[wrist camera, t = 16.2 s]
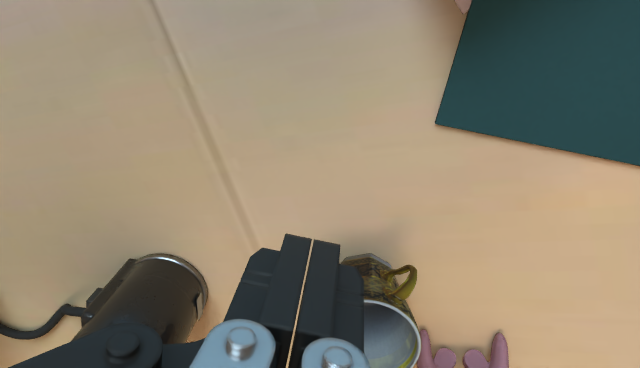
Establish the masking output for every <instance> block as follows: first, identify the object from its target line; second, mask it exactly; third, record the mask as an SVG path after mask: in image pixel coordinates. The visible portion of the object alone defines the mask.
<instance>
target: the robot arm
mask: <svg viewBox="0 0 640 368" xmlns="http://www.w3.org/2000/svg"><path fill="white" fill-rule="evenodd" d="M311 241H312V239H310V238H305V237H300V236H295V235H290V234H285V237H284V240H283V244H282V247H281V250H280V251H276V250H271V249H266V248H261V249H260V250H259V251H257V252H256V253H255V254H253V255H252V256H251V257H250V259H249V261H248V264H247V266H246V268H245V272H244V273H243V276H242V278H241V281H240V283H239V285H238V288H237V290H236V292H235V295H234V297H233V300H232V302H231V304H230V307H229V309H228V312H227V314H226V316H225V319H224V321H223V322H222V323H220V324H218V325H217V326H215V327H214V328H213V329H212V330H211V331H210V332H209V334H208V335H207V337H206V338H204V339H202V340H199V341H195V342H190V343H186V341H187V339H188V337H189V335H190V333H191V331H192V329H193V326H194V324H195V322H196V321H197V319H198V321H199V319H200V317H201V315H202V314H203V309H204V306H205V304H206V301H207V287H206V284H205V282H204V279H203V278H202V276H201V275H200V273H199V272H198V271H197V270H196V269H195V268H194V267H193V266H192V265H190V264H189V263H188V262H186V261H184V260H182V259H180V258H178V257H175V256H172V255H168V254H151V255H147V256H144V257H142V258H140V259H139V260H136V259H128V261H127V262H126V263H125V264H124V265H123V266H122V268H121V269H120V270H119V271H118V272H117V273H116V275H115V276H114V277H113V278H112V279H111V280H110V282H109V283H108V284H107V285H106V286H105V287H104V289H102V288H97V289H96V291H95V292H94V293H93V294H92V295H91V296H90V297H89V298H88V300H87V301H86V307H87V308H82V307H73V306H71V305H70V304H65V305H63V306H62V307H61V308H60V309H59V310H58V311H57V312H56V313H55V314H54V315H53V317H52V318H51V319H50V320H49V321H48V322H47V323H46V324H45V325H44V326H42V327H41V328H39V329H37V330H34V331H19V330H15V329H12V328H9V327H7V326H5V325H3V324H1V323H0V334H3V335H5V336H8V337H11V338H15V339H35V338H38V337H41V336H43V335H45V334H46V333H48V332H49V331H50V330H51V329H52V328H53V327H54V326H55V325H56V324H57V323H58V322H59V321H60V320H61V318H62V317H63V316H64V315H70V316H78V317H81V325H82V328H81V330H80V331H79V332H78V333H77V334H76V336H75V337H74V338H73V339H72V341H71V342H69V343H67V344H64V345H62V346H59V347H57V348H55V349H52V350H50V351H47V352H45V353H42V354H40V355H38V356H35V357H33V358H30V359H28V360H25V361H23V362H21V363H18V364H16V365H13V366H11V367H8V368H286V363H287V358H288V353H289V348H290V344H291V339H292V334H293V329H294V324H295V319H296V314H297V309H298V305H299V300H300V295H301V290H302V285H303V280H304V275H305V270H306V265H307V260H308V255H309V250H310V245H311ZM339 255H340V245H339V244H334V243H329V242H325V241H320V240H315V239H314V243H313V247H312V252H311V257H310V262H309V266H308V271H307V276H306V281H305V285H304V290H303V295H302V300H301V305H300V310H299V315H298V320H297V325H296V330H295V336H294V341H293V346H292V351H291V356H290V361H289V366H288V368H370V364H369V361H368V359H367V357H366V356H365V354H364V279H363V278H362V276H361V274H360V273H359V271H358V269H357V267H354V266H349V265H344V264H340V263H339Z"/></svg>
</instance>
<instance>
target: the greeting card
mask: <svg viewBox="0 0 640 368" xmlns="http://www.w3.org/2000/svg"><path fill="white" fill-rule="evenodd" d="M471 1H472V0H455V2H456V4H457V5H458V7H459V9H460V10H461V12H462V14H464V13H465V12H466V11H468V10H469V8H470V5H471Z"/></svg>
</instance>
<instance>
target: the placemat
mask: <svg viewBox="0 0 640 368" xmlns="http://www.w3.org/2000/svg"><path fill="white" fill-rule="evenodd" d="M435 124H438V125H443V126H448V127H453V128H457V129H462V130H467V131H472V132H477V133H482V134H487V135H492V136H497V137H501V138H506V139H511V140H516V141H521V142H526V143H531V144H536V145H541V146H545V147H550V148H555V149H560V150H565V151H570V152H575V153H580V154H585V155H589V156H594V157H599V158H604V159H609V160H614V161H619V162H624V163H629V164H633V165H638V166H640V0H472V1H471V5H470V8H469V11H468V15H467V18H466V21H465V25H464V28H463V31H462V35H461V38H460V41H459V45H458V48H457V51H456V54H455V58H454V61H453V64H452V68H451V71H450V74H449V78H448V81H447V84H446V88H445V91H444V94H443V98H442V101H441V104H440V108H439V111H438V114H437V118H436V121H435Z"/></svg>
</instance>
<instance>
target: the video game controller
mask: <svg viewBox="0 0 640 368" xmlns="http://www.w3.org/2000/svg"><path fill="white" fill-rule="evenodd" d="M419 333H420V337H421V351H420V355H419V358H418V360H417V367H418V368H453V367H454V366H455V364H456V356H455V354H454V352H453V351H451V350H450V349H447V348H441V349H439V350H438V351H437V353H436V355H435V357H434V359H433V358H432V353H431V344H430V339H429V336H428V333H427V331H426V330H425V329H422V330H421V331H420V332H419ZM463 365H464V367H465V368H509V360H508V347H507V342H506V339H505V337H504V336H503V334H501V333H497V334H496V336H495V338H494V341H493V344H492V350H491V360H490V362H487V361H486V359H485V358H484V356H483V354H482V353H481V352H480V351H478V350H474V349H473V350H469V351H467V352H466V353H465V355H464V357H463Z"/></svg>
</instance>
